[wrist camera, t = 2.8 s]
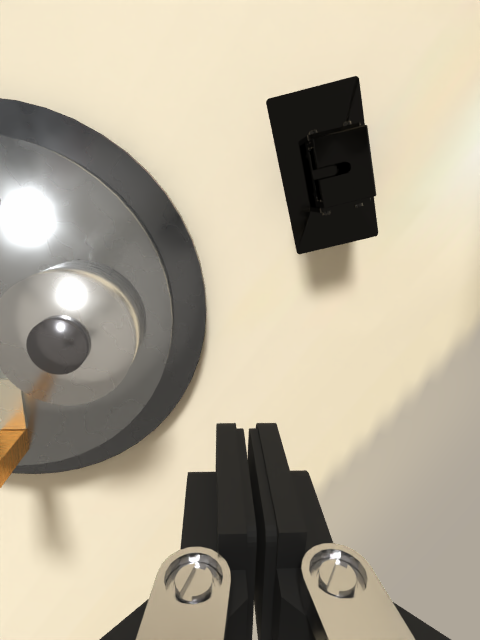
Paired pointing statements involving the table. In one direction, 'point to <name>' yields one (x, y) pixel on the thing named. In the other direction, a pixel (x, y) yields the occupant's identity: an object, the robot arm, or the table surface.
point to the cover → (70, 332)
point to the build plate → (325, 164)
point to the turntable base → (169, 239)
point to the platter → (63, 246)
